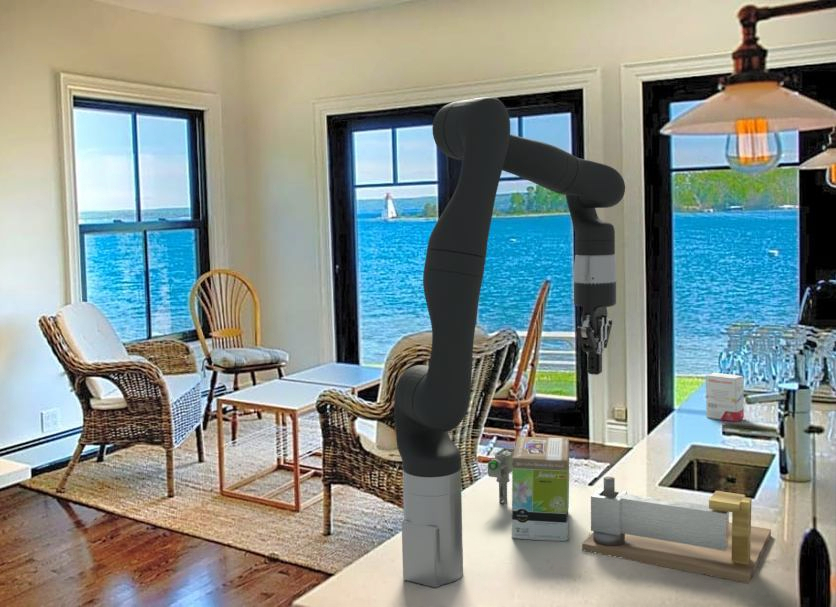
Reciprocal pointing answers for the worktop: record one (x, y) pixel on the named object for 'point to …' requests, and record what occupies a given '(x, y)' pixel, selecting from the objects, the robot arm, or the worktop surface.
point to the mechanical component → (502, 470)
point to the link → (659, 519)
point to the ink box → (724, 397)
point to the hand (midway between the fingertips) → (595, 373)
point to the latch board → (718, 563)
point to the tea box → (540, 488)
